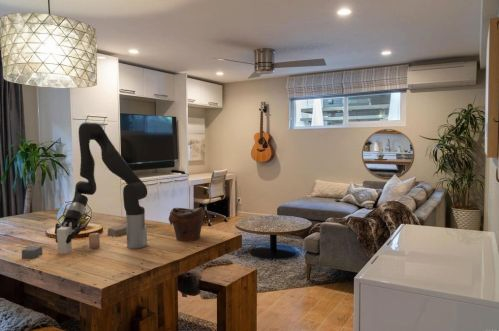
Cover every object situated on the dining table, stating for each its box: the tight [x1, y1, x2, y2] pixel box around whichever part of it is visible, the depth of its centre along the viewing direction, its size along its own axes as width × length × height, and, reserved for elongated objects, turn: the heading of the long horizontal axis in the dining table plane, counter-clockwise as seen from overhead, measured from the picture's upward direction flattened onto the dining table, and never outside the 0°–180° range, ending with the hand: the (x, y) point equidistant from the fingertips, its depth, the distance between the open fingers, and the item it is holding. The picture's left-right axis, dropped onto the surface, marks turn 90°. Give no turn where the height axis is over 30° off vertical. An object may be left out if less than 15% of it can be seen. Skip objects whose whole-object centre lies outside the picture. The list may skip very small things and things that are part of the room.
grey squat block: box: [21, 245, 43, 259], centre depth 170 cm, size 6×6×4 cm
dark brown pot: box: [168, 206, 205, 242], centre depth 198 cm, size 18×20×18 cm
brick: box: [107, 222, 127, 238], centre depth 211 cm, size 17×8×5 cm, turn 149°
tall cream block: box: [56, 226, 73, 254], centre depth 175 cm, size 4×4×12 cm
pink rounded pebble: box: [88, 232, 101, 250], centre depth 183 cm, size 5×5×7 cm
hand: (62, 242), depth 173 cm, fingers closed on tall cream block, 4 cm apart
